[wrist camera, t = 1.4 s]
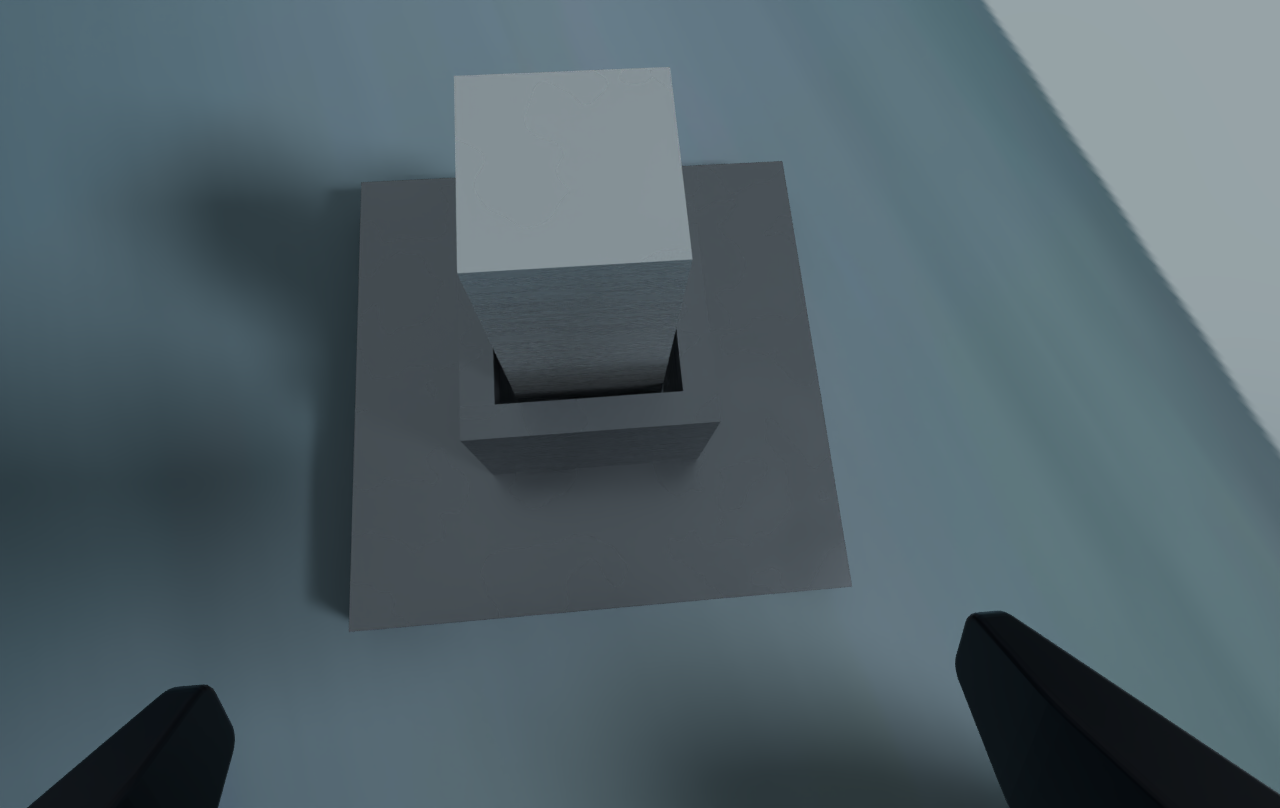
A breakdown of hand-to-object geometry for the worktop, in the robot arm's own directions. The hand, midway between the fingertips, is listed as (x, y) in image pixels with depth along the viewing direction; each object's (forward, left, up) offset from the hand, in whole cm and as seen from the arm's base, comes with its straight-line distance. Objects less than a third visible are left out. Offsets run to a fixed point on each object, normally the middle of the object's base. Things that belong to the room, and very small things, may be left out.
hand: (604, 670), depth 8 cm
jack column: (+7, +4, -11) cm, 13 cm away
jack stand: (+7, +4, -13) cm, 15 cm away
